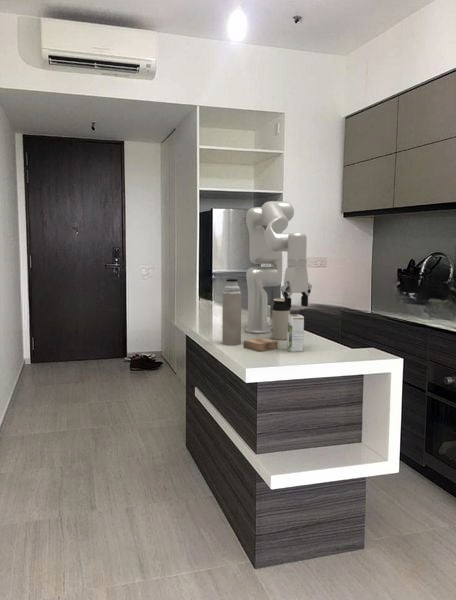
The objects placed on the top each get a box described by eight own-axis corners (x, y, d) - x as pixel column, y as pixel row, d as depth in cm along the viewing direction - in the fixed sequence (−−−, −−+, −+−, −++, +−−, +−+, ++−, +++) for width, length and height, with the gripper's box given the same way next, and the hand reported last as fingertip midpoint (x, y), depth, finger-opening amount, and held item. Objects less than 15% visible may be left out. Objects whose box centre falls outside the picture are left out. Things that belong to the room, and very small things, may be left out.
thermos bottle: (226, 341, 236) (226, 278, 233) (243, 342, 233) (243, 278, 230) (219, 344, 228) (220, 279, 225) (237, 345, 226) (238, 279, 223)
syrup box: (286, 349, 220) (287, 314, 218) (300, 349, 220) (301, 314, 219) (289, 352, 214) (289, 316, 212) (303, 351, 215) (304, 316, 213)
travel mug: (293, 339, 242) (293, 299, 239) (278, 340, 237) (279, 300, 235) (282, 336, 248) (283, 297, 246) (268, 337, 244) (269, 298, 242)
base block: (261, 344, 228) (261, 337, 228) (277, 348, 221) (277, 341, 220) (243, 347, 222) (243, 340, 222) (259, 351, 214) (259, 344, 214)
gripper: (304, 263, 221) (303, 304, 223) (274, 264, 210) (274, 307, 212) (318, 264, 216) (317, 306, 217) (288, 265, 205) (288, 309, 206)
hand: (296, 306), depth 215 cm, fingers open, 9 cm apart
